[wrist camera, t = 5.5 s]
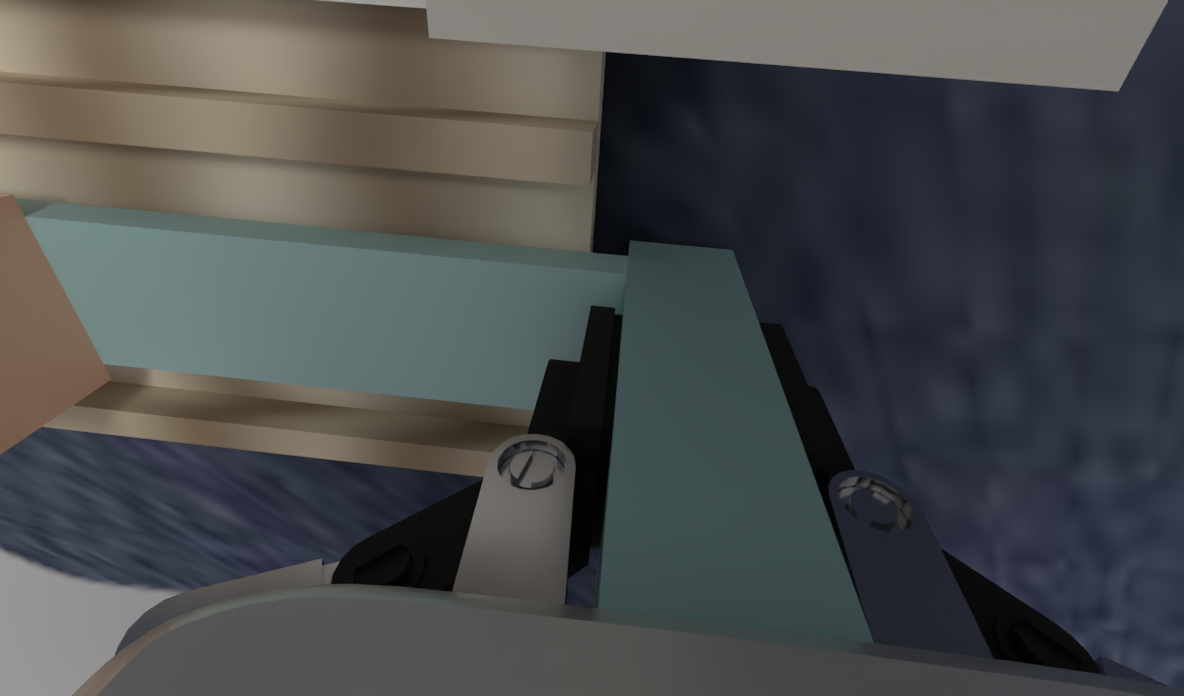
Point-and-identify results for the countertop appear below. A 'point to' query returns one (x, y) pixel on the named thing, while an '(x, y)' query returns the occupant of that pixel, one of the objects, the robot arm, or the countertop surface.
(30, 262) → the terracotta block
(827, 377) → the countertop surface
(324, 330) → the teal strip
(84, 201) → the lane board
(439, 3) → the white l-shaped bar
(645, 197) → the countertop surface
